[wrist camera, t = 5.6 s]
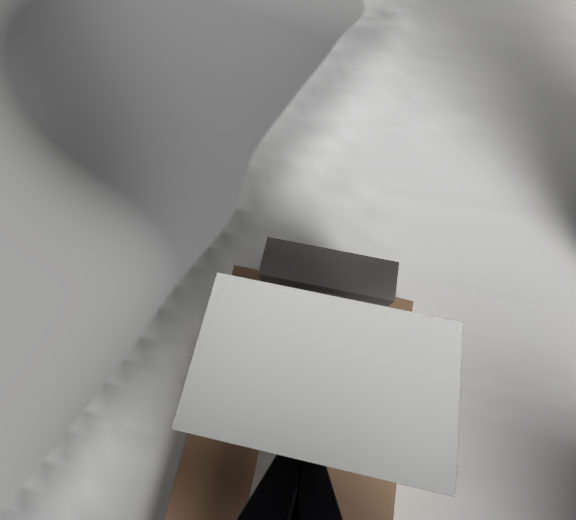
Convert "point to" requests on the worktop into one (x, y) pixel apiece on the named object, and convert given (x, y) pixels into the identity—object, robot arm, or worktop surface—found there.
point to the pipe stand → (253, 463)
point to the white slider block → (327, 382)
